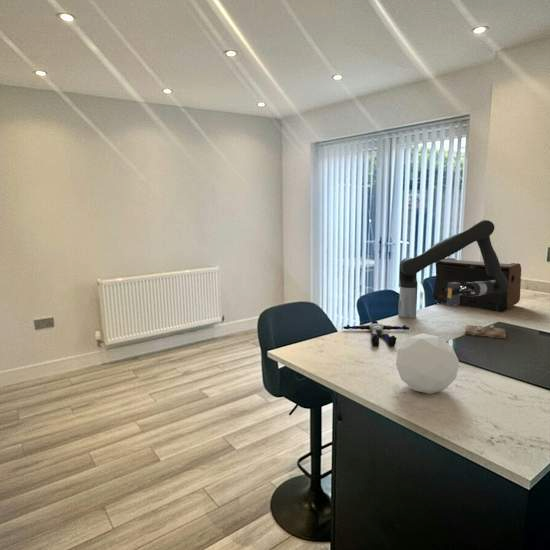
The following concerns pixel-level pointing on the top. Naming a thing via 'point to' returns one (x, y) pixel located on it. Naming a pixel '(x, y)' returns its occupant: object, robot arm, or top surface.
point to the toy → (379, 332)
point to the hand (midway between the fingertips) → (449, 292)
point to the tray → (485, 331)
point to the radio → (474, 272)
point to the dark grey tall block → (453, 298)
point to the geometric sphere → (427, 363)
